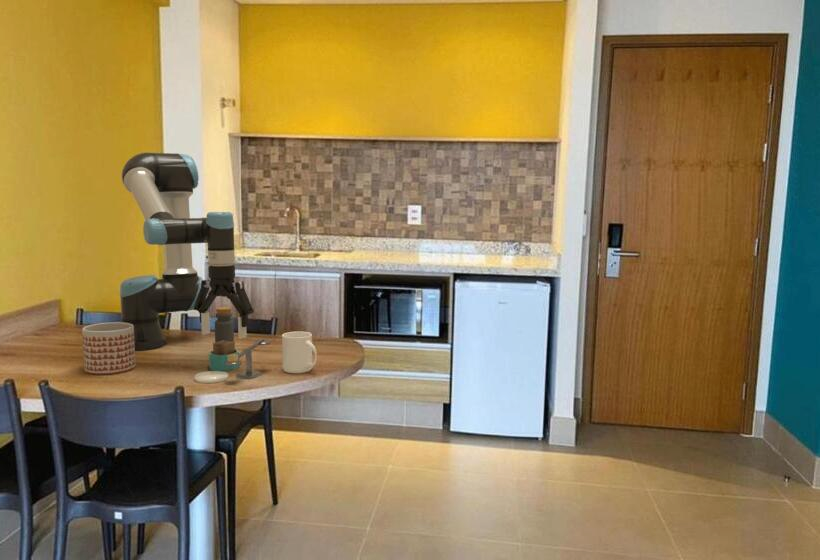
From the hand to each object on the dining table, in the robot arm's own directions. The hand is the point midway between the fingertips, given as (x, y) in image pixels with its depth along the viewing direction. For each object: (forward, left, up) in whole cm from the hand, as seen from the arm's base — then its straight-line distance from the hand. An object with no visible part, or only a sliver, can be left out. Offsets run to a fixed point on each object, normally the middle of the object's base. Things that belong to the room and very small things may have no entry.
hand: (224, 336), depth 196 cm
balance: (+12, -4, -10) cm, 16 cm away
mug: (+23, +7, -10) cm, 26 cm away
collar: (0, 0, -10) cm, 10 cm away
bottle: (-11, +13, -10) cm, 20 cm away
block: (0, 0, -10) cm, 10 cm away
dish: (+5, -11, -10) cm, 15 cm away
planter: (-29, -16, -10) cm, 34 cm away
